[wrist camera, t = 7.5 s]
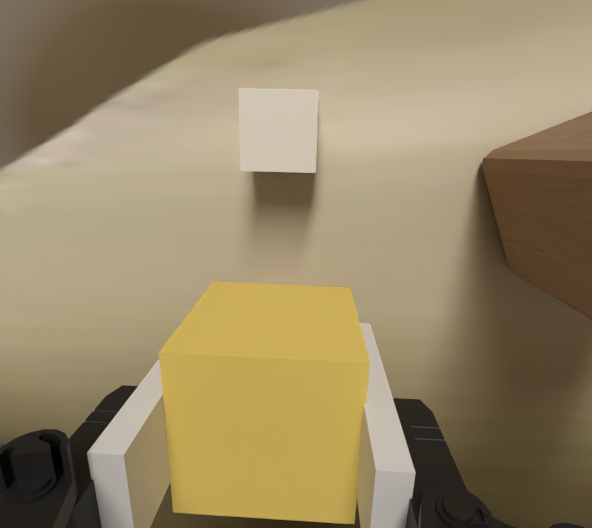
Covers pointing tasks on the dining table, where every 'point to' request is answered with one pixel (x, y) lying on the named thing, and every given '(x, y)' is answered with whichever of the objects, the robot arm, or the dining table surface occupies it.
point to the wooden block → (547, 209)
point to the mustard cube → (266, 403)
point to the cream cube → (278, 130)
